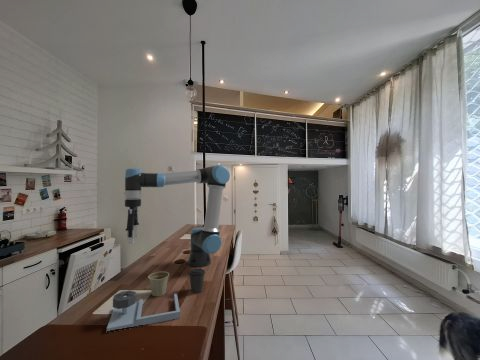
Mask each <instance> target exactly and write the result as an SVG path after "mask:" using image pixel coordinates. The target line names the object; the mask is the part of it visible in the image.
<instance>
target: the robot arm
mask: <svg viewBox="0 0 480 360" xmlns="http://www.w3.org/2000/svg"><path fill="white" fill-rule="evenodd" d="M230 173H231V172H230V171H229V169H228V168H227V167H226V166H225V165H222V164H219V165H218V164H217V165H212V166H207V167H203V168H196V169H195V170H191V171H190V170H188V171H177V172H175V171H174V172H164V173H163V172H161V173H159V172H158V173H156V172H154V173H153V172H151V173H150V172H148V173H147V172H142V169H141V168H127V169H126V170H125V176H124V192H123V194H124V198H125V200H124V207H125V208H129V209H128V210H127V221H126V228H125V231H126V244H127V245H134V243H135V240H134V239H136V238H138V226H139V225H140V222H139V220H138V219H139V217H138V212H139V210H138V207H141V206H142V199H141V198H142V188H163V187H165V186H170V185H171V186H172V185H173V186H174V185H180V184H193V183H197V184H207V185H206V186H207V187H208V195H207V202H206V210H205V217H204V224H203V227H197V228H192V229H191V230H190V253H189V256H188V259H187V265H188V266H190V267H194V268H200V267H206V266H209V265H211V263H212V259H211V255H210V254H215V253H217V252H218V251H219V250H220V249H221V247H222V246H223V245H222V244H223V240H222V237H221V236H220V235H221V234H220V233H221V231H220V228H219V222H220V215H221V214H220V213H221V205H222V196H223V191H224V189H226V185H227V183H228V182H229V180H230V177H231V174H230Z"/></svg>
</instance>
